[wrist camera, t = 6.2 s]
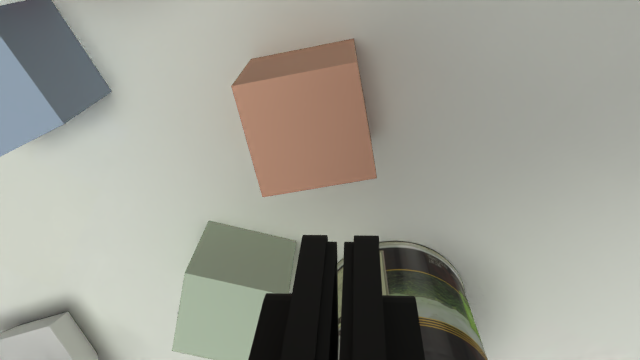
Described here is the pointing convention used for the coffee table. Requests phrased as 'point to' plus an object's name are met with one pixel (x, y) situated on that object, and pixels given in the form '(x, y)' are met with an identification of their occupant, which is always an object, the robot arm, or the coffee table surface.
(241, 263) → the sage block
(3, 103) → the slate block
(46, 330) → the figurine
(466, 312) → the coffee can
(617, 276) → the coffee table surface
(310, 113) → the terracotta block
